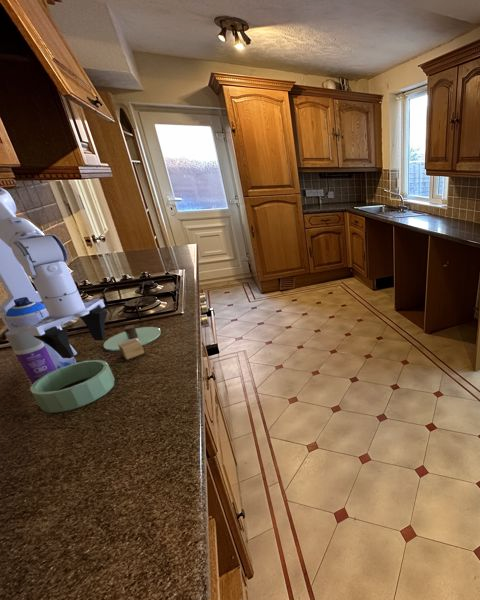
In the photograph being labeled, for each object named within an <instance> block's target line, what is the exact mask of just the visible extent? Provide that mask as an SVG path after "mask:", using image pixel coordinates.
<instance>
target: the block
mask: <svg viewBox="0 0 480 600" xmlns="http://www.w3.org/2000/svg"><path fill="white" fill-rule="evenodd" d="M118 346H119V349H120V351H119V352H120V353H121V356H122V357H124V359H125V360H130V359H132V358H135V357H138V356H140V355H144V354H145V351H144V350H145V349H144V348H143V345H141V342H139V341H138V340H137V339H136V338H134V339H131V340H128V341H125V342H122V343H119V344H118Z"/></svg>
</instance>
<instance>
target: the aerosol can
mask: <svg viewBox="0 0 480 600" xmlns="http://www.w3.org/2000/svg"><path fill="white" fill-rule="evenodd" d="M14 303H15V305H14V306H12V307H11V308H10V309H8V311H7V313H6V314H5V315H4V317H5V321H6V323H7V325H8V326H9V328H10V330H12V329H15V328H18V327H23V326H31V325H33V324H35V323H37V322H39V321H40V320H42V319H44V318H45V317H47V316H49V314H48V312H47V309H46V307H45V305H44V304H42V302H34V301H29V299H28V298H27V297H23V298H19V299H15V300H14ZM58 328H59V329H60V327H59V326H58V327H57V329H58ZM60 330H61V329H60ZM43 343H44V345H45V346H46V348H47V350H48V352H49V354H50V356H51V358H52V360H53V362H54V364H55V366H56V368H57V369H59V368H62V367H65V366H67V365H70V364H74V363H77V361H76V358H75V356H74V357H72V358H62V357H61V356H60V355H59V354H58V353H57V352H56V351H55V350H54V349H53V348H52V347H50V346H49V345H48V344H46V343H45V342H43Z"/></svg>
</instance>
